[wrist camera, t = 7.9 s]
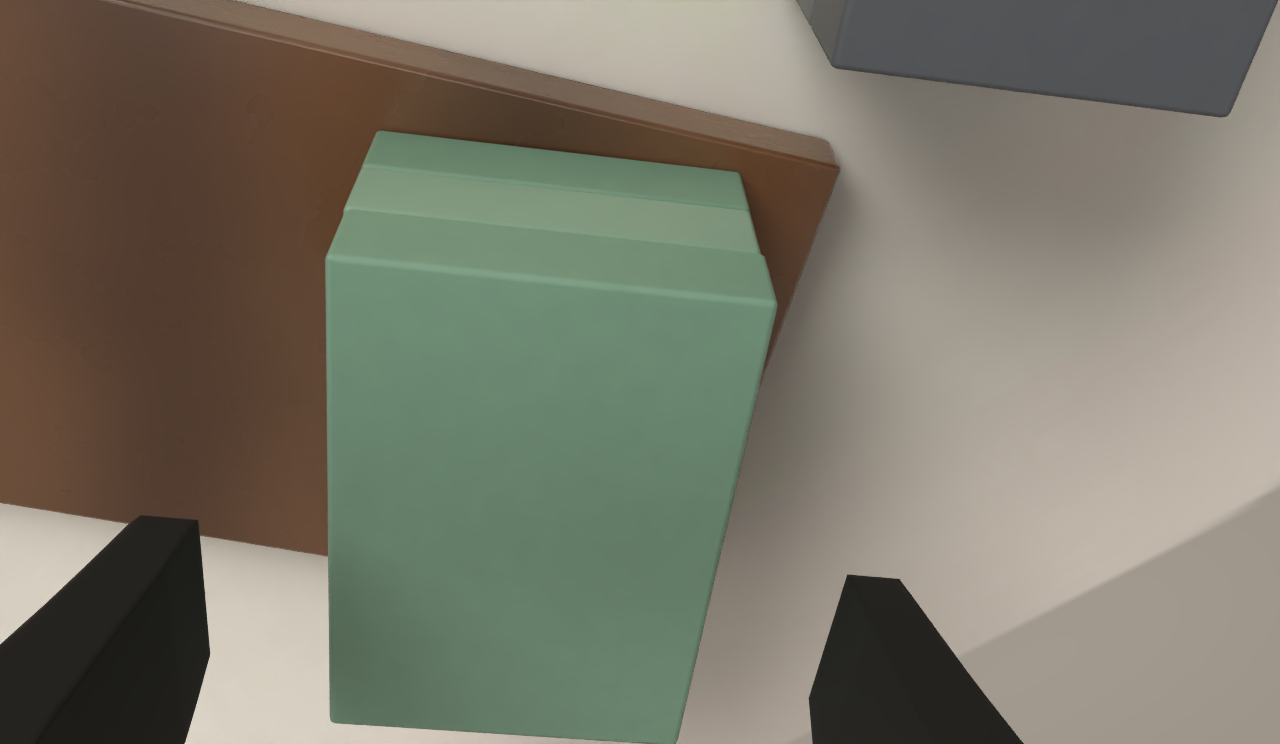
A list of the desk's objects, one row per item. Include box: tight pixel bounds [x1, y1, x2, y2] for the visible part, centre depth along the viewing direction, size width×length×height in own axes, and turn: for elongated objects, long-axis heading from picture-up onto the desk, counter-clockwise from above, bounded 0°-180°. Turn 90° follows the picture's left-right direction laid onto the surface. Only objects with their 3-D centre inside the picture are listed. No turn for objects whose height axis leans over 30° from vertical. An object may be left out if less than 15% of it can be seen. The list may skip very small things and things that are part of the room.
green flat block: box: [343, 131, 761, 254], centre depth 16 cm, size 5×7×2 cm, turn 172°
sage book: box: [325, 209, 778, 744], centre depth 15 cm, size 5×7×1 cm, turn 172°
